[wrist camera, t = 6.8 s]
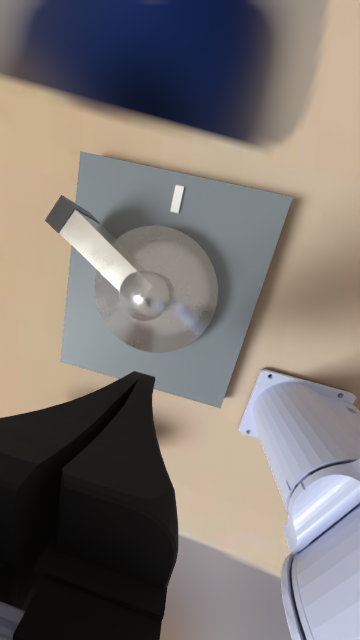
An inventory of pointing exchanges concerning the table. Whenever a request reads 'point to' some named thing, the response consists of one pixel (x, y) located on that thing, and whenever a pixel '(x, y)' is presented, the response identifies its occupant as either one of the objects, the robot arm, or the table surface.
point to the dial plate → (214, 238)
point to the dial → (144, 279)
